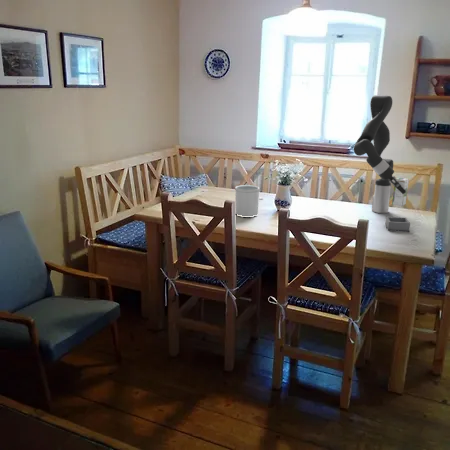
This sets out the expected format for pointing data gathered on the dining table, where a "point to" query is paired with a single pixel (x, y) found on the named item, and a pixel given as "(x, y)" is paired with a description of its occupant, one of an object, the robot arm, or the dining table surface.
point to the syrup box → (398, 197)
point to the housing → (397, 224)
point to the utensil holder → (247, 200)
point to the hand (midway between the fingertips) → (403, 191)
